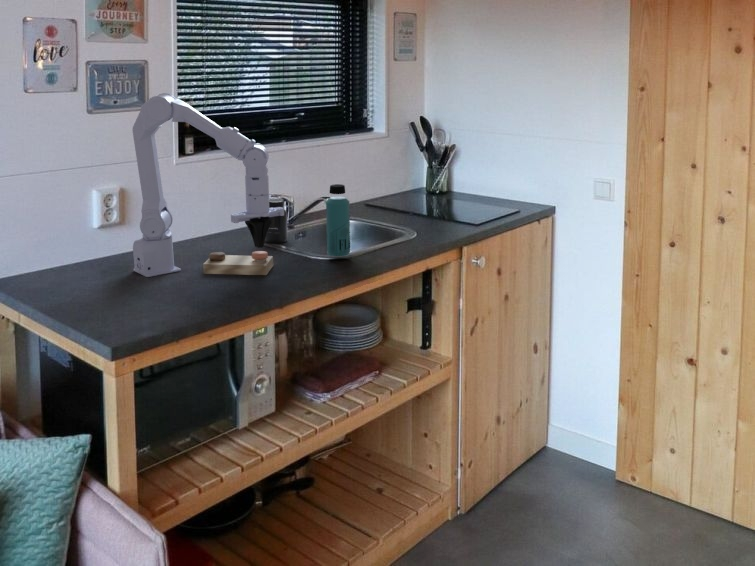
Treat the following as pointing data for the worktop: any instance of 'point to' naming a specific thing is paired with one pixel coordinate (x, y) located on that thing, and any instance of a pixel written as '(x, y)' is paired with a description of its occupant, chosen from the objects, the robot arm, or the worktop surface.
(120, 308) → the worktop surface
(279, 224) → the supplement bottle
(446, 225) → the worktop surface
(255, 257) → the terracotta plunger
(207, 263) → the board
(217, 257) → the walnut plunger
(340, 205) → the beverage bottle
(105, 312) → the worktop surface
